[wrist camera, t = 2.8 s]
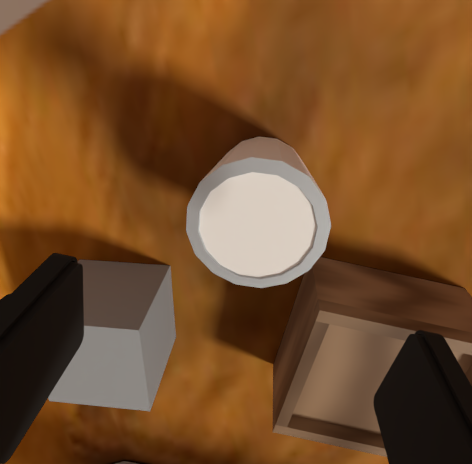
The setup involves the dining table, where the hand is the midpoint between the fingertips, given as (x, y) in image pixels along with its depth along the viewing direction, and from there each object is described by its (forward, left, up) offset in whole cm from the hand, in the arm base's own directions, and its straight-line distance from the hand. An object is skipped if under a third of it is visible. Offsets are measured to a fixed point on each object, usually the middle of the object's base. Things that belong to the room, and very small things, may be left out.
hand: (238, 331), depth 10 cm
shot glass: (0, 0, -15) cm, 15 cm away
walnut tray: (-10, +10, -14) cm, 20 cm away
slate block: (+8, +12, -15) cm, 21 cm away
